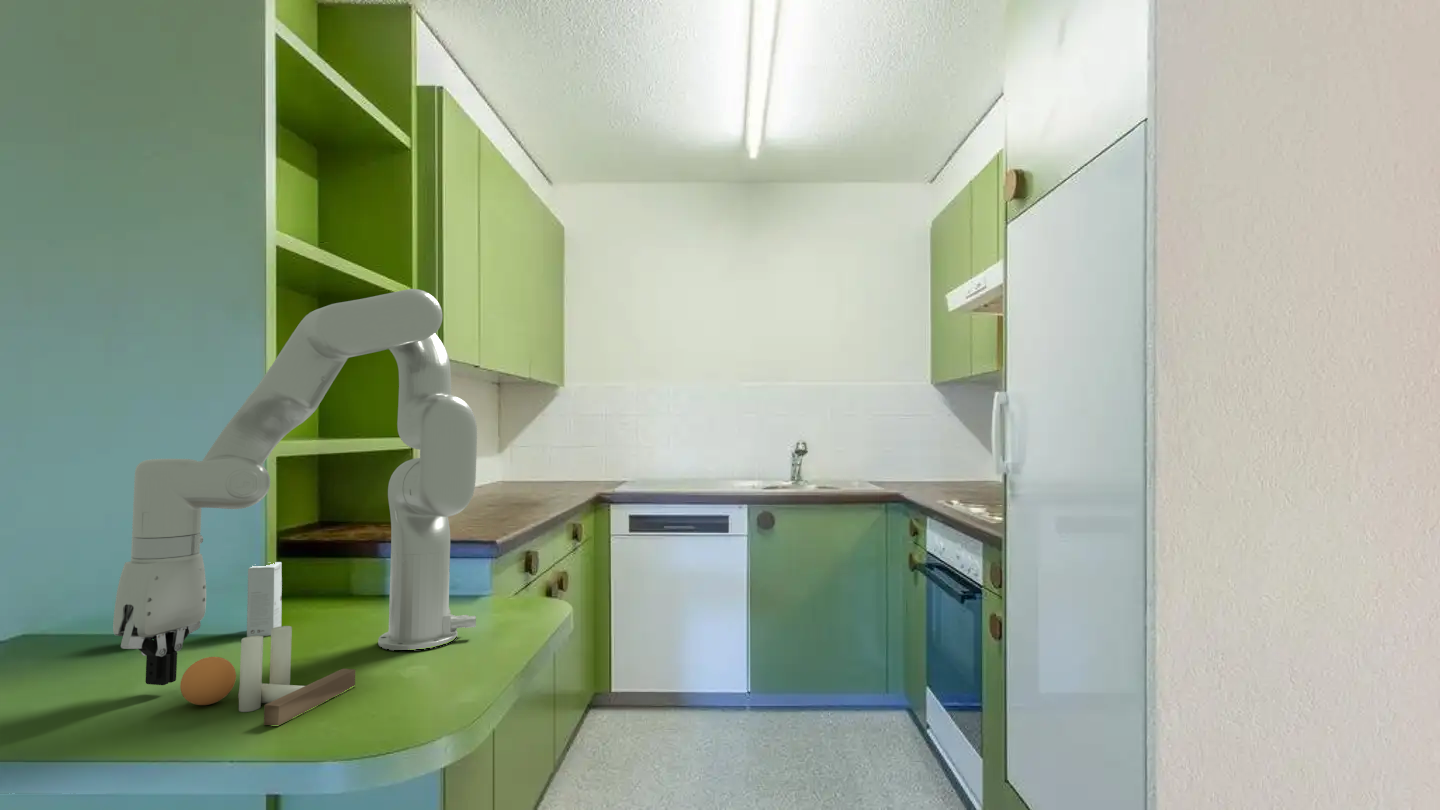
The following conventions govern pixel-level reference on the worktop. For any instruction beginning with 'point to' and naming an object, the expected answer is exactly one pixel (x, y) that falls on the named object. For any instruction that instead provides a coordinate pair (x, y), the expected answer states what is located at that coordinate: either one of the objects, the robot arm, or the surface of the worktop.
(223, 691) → the brown egg
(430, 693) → the worktop surface
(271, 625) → the skincare box
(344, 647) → the worktop surface
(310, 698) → the brown wooden bar
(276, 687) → the pin front
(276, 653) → the pin right
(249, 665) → the pin left
